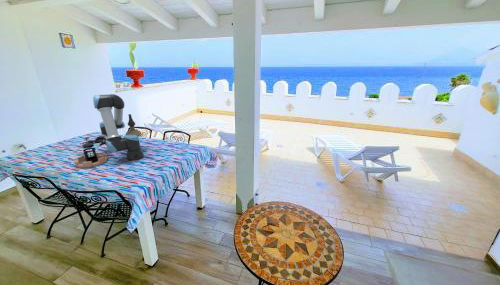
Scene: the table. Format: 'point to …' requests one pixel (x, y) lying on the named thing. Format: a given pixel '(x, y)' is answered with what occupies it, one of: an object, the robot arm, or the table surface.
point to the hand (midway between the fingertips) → (89, 146)
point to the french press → (90, 156)
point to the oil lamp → (132, 128)
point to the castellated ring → (83, 164)
